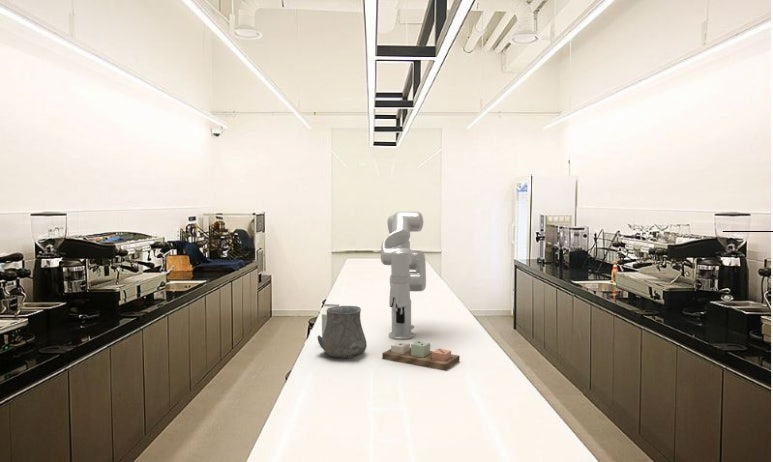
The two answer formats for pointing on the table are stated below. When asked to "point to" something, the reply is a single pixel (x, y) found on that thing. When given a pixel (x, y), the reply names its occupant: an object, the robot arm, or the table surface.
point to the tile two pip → (420, 349)
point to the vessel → (343, 332)
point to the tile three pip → (441, 355)
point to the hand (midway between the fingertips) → (400, 322)
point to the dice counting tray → (421, 360)
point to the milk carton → (324, 315)
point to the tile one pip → (400, 348)
